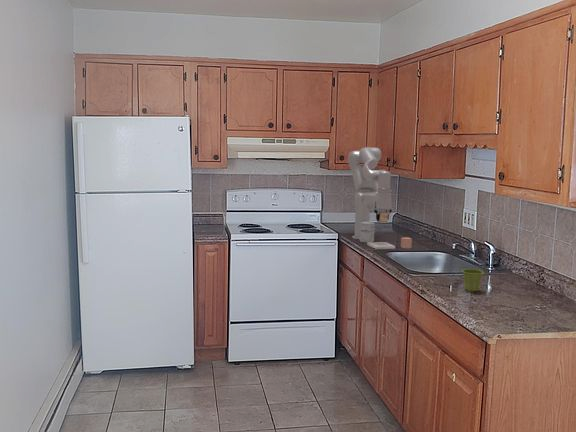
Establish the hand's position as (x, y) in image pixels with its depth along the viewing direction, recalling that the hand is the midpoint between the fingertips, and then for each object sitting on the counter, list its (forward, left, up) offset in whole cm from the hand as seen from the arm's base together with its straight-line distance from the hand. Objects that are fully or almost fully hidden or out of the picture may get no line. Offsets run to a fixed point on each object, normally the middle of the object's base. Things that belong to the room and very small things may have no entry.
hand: (382, 220), depth 380 cm
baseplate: (0, 0, -17) cm, 17 cm away
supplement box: (-18, -3, -17) cm, 25 cm away
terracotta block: (+4, +15, -17) cm, 23 cm away
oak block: (0, 0, -1) cm, 1 cm away
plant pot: (+108, 0, -17) cm, 109 cm away
